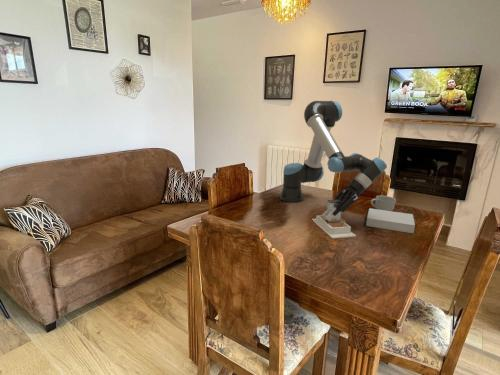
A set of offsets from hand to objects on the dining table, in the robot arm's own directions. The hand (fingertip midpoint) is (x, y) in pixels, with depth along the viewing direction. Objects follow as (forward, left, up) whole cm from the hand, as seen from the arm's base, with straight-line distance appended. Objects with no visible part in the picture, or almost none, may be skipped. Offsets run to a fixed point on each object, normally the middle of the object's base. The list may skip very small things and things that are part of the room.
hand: (326, 217), depth 147 cm
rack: (+4, +1, -6) cm, 7 cm away
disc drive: (+34, +12, -6) cm, 36 cm away
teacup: (+36, +32, -6) cm, 48 cm away
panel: (+4, +1, -3) cm, 5 cm away
